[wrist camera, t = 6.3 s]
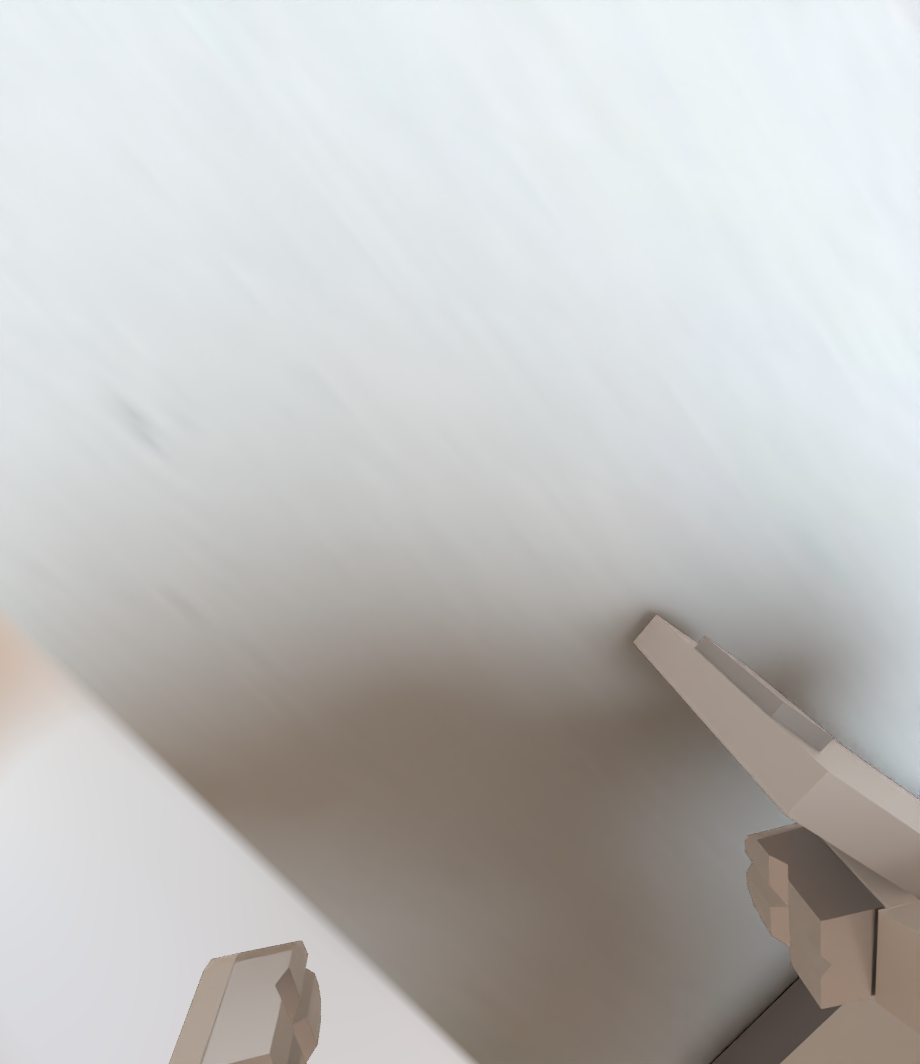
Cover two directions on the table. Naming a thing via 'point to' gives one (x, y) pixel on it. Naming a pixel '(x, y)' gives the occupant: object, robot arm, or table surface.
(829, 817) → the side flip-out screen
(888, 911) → the robot arm
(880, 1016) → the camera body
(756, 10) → the table surface
